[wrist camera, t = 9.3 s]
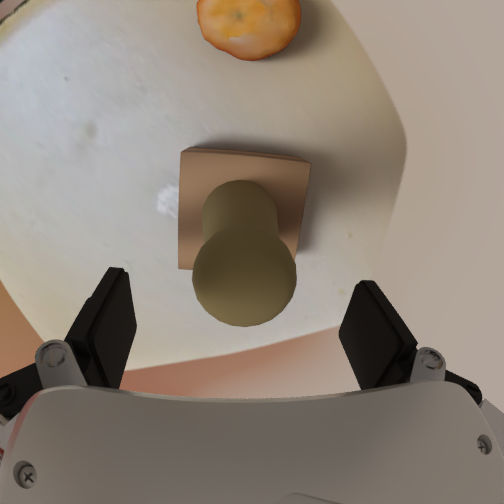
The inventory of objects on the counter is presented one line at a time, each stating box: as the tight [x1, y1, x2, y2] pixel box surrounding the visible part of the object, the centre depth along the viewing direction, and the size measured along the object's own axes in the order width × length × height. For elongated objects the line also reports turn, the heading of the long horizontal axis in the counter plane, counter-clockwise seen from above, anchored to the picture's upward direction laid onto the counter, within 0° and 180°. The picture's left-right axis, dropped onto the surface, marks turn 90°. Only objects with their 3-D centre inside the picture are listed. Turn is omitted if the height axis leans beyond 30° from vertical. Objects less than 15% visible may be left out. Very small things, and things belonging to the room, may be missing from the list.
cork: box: [192, 180, 297, 327], centre depth 18 cm, size 6×6×11 cm
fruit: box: [197, 0, 301, 61], centre depth 16 cm, size 8×8×8 cm
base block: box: [178, 148, 311, 270], centre depth 24 cm, size 10×10×4 cm
